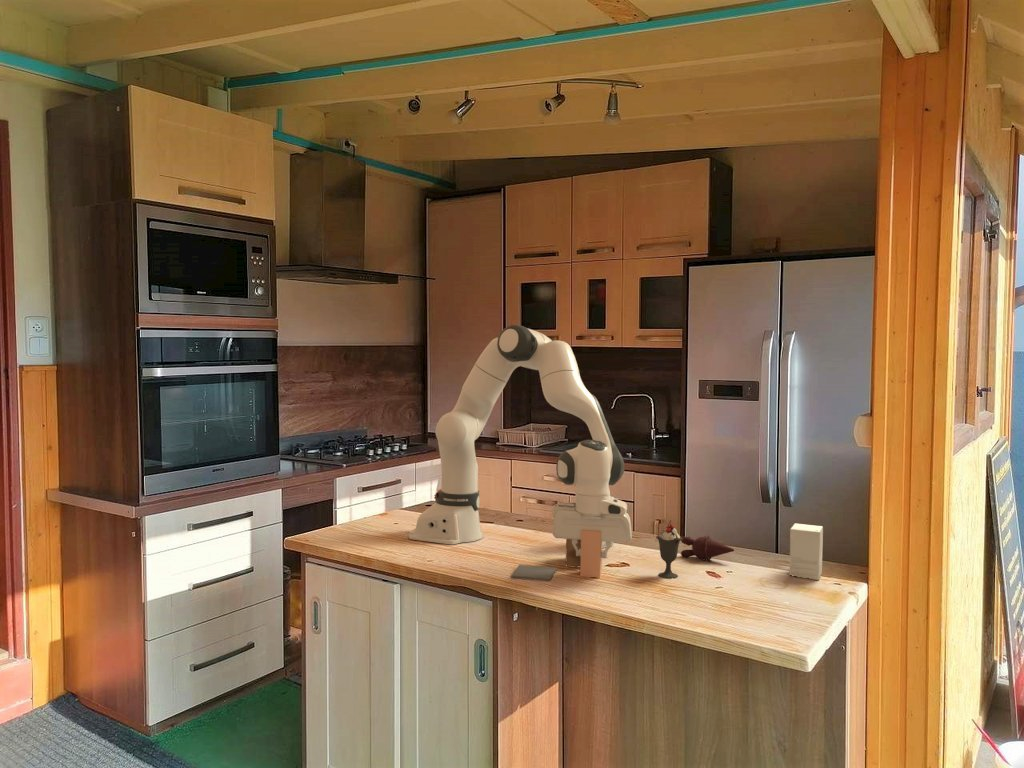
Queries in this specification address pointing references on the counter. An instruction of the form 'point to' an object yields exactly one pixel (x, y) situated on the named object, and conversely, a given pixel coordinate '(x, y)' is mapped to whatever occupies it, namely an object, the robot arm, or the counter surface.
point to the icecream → (704, 548)
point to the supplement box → (806, 551)
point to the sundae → (669, 549)
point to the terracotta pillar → (591, 553)
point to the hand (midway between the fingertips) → (591, 557)
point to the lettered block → (572, 554)
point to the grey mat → (533, 572)
